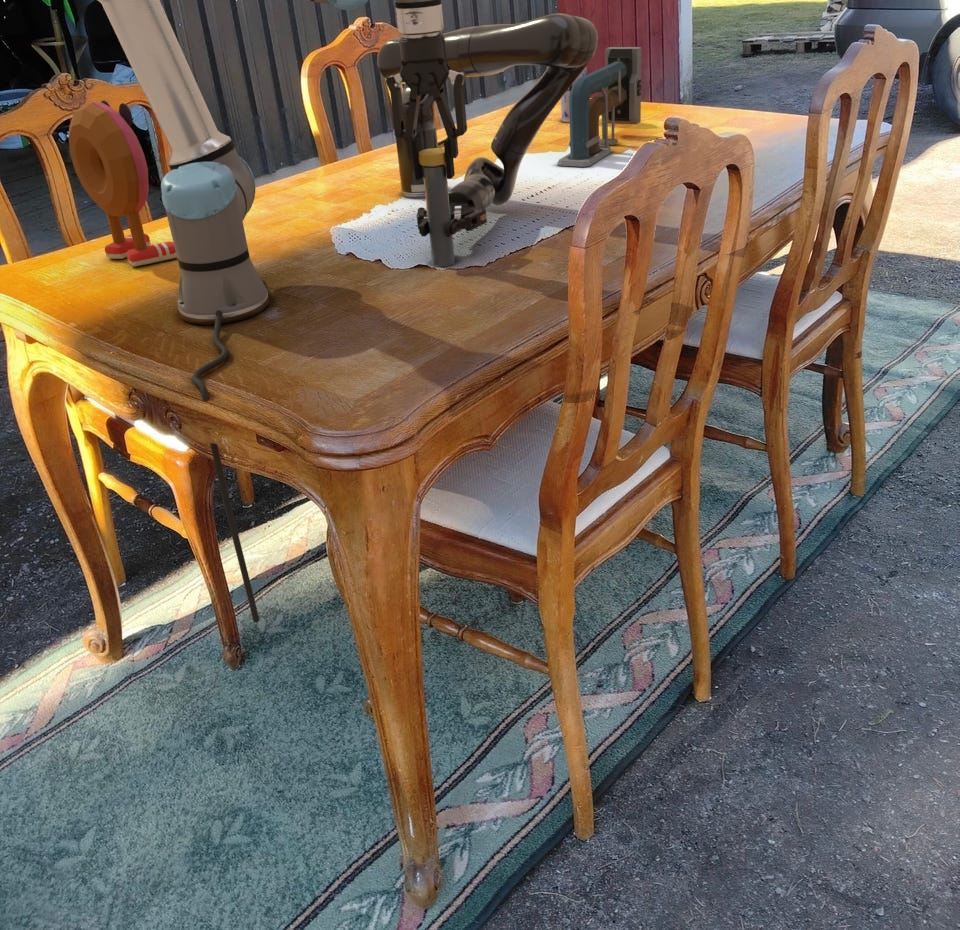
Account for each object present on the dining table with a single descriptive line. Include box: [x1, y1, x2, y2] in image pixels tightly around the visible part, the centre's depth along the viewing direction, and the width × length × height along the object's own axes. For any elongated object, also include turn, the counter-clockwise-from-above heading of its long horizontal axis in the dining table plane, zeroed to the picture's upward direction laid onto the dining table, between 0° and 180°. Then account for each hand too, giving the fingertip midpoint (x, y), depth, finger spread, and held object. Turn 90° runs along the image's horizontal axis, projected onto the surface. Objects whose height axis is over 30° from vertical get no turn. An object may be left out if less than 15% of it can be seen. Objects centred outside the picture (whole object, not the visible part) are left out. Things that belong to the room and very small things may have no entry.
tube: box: [422, 163, 456, 267], centre depth 174 cm, size 4×4×19 cm
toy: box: [68, 100, 177, 267], centre depth 187 cm, size 21×10×30 cm, turn 47°
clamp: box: [556, 46, 642, 168], centre depth 239 cm, size 35×9×21 cm, turn 151°
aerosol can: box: [560, 65, 588, 123], centre depth 273 cm, size 8×8×20 cm
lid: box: [418, 147, 446, 166], centre depth 169 cm, size 5×5×2 cm
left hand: (435, 177), depth 171 cm, fingers closed on lid, 5 cm apart
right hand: (435, 231), depth 173 cm, fingers closed on tube, 4 cm apart
